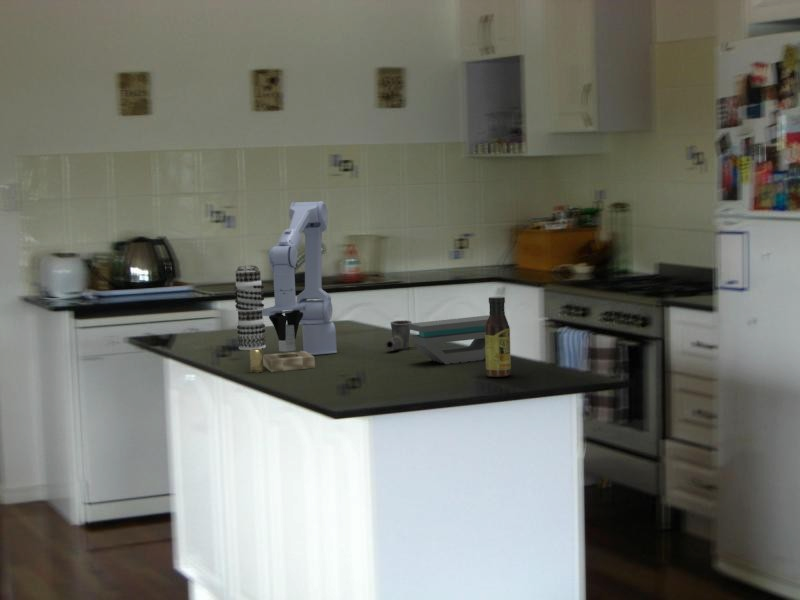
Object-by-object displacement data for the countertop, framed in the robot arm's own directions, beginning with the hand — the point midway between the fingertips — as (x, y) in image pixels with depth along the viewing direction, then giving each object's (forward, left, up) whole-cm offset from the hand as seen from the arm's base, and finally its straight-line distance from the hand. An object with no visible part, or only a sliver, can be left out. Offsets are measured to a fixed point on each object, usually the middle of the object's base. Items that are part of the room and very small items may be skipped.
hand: (287, 339), depth 345 cm
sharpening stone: (-44, +14, -8) cm, 47 cm away
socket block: (0, 0, -8) cm, 8 cm away
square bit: (0, 0, -3) cm, 3 cm away
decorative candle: (+3, -42, -8) cm, 43 cm away
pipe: (-35, -13, -8) cm, 38 cm away
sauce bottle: (-45, +43, -8) cm, 63 cm away
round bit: (+9, +4, -8) cm, 13 cm away
